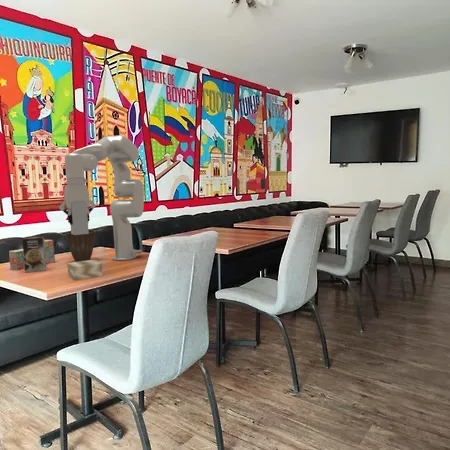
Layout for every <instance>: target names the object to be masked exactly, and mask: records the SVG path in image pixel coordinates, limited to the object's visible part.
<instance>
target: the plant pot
mask: <svg viewBox="0 0 450 450" xmlns="http://www.w3.org/2000/svg"><path fill="white" fill-rule="evenodd" d="M88 230H89V234H81V235H73V234H71V230H70V231H66V232H65V237H66V240H67V241H66V242H67V244H68V248H69V251H70V253H71V255H72V256H71V257H72V258H73V260H74V262H80V261H87V260H92V259H91V258H92V256H93V252H94V246H95V240H96V230H94V229H88Z"/></svg>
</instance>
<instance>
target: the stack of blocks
mask: <svg viewBox="0 0 450 450" xmlns="http://www.w3.org/2000/svg"><path fill="white" fill-rule="evenodd" d="M54 243H55V242H54V240H53V239H45V254H46V265H49V264H55V263H56V258H55V257H56V256H55V246H54ZM8 255H9V266H10V267H9V268H10V270H12V271H13V270H15V271H19V270H25V265H24V253H23V248H21V249H15V250H14V249H13V250H9V251H8Z"/></svg>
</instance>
